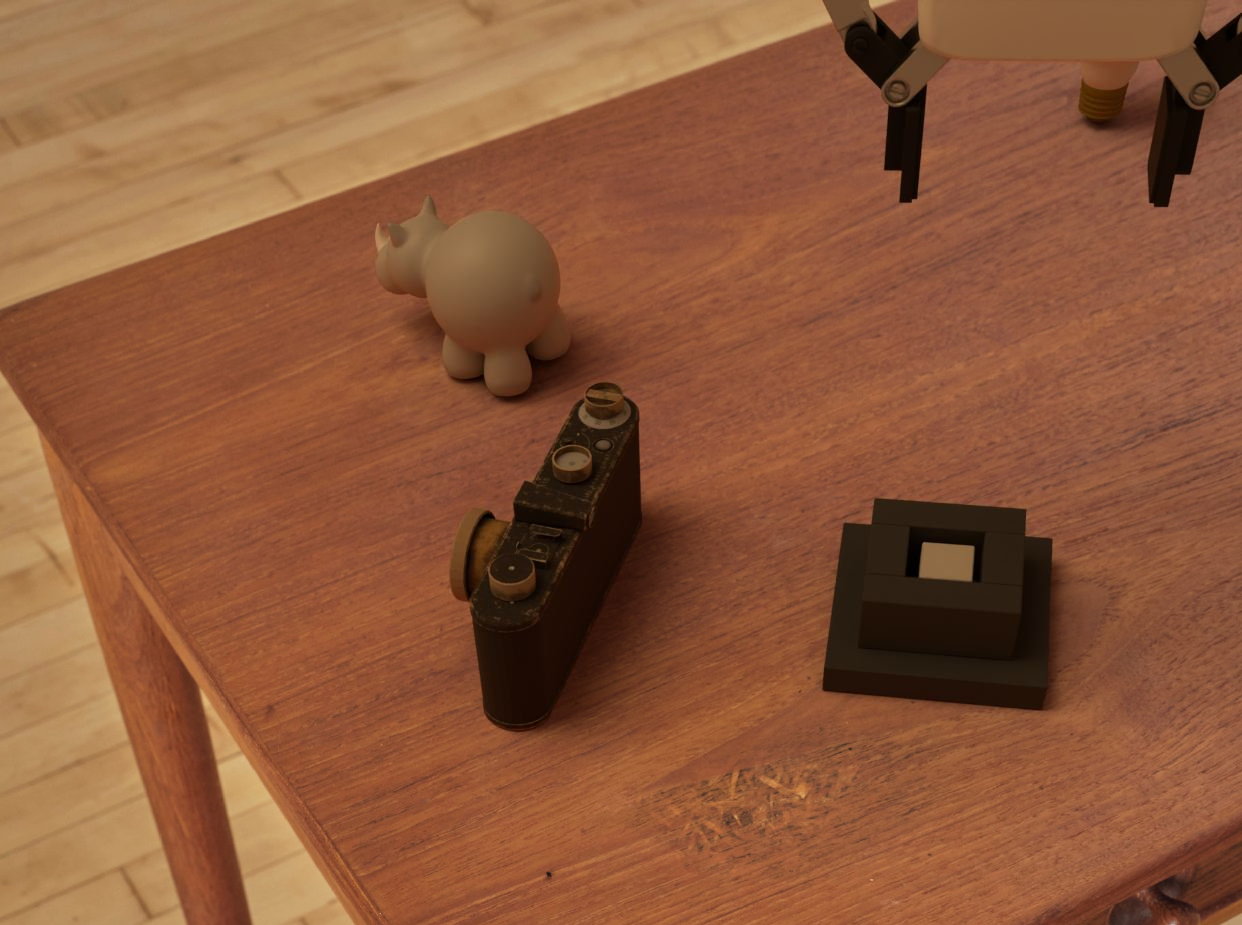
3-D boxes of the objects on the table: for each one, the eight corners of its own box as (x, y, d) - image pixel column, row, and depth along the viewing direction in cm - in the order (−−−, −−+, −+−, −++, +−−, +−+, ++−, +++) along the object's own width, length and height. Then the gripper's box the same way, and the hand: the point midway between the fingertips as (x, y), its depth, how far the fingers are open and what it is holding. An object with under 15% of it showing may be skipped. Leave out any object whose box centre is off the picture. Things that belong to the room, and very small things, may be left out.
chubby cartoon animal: (432, 279, 105) (414, 142, 99) (592, 351, 100) (585, 211, 94) (348, 342, 102) (323, 204, 96) (509, 419, 97) (495, 279, 90)
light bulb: (1049, 146, 110) (1078, -22, 101) (1047, 94, 113) (1074, -72, 105) (1150, 147, 109) (1186, -22, 101) (1144, 95, 112) (1179, -72, 104)
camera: (536, 486, 94) (525, 356, 87) (659, 509, 92) (656, 378, 86) (416, 710, 85) (394, 583, 79) (549, 740, 83) (537, 612, 77)
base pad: (1047, 561, 88) (1061, 497, 85) (1042, 710, 82) (1056, 647, 79) (841, 545, 90) (847, 481, 87) (822, 690, 84) (827, 628, 81)
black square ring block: (1017, 557, 86) (1026, 508, 84) (1011, 661, 82) (1021, 613, 80) (869, 545, 87) (874, 497, 85) (856, 648, 83) (862, 600, 81)
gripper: (1374, -358, 59) (1253, 137, 73) (839, -341, 62) (820, 132, 76) (1398, -261, 55) (1265, 246, 68) (822, -247, 58) (805, 236, 71)
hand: (1031, 186), depth 72 cm, fingers open, 9 cm apart
